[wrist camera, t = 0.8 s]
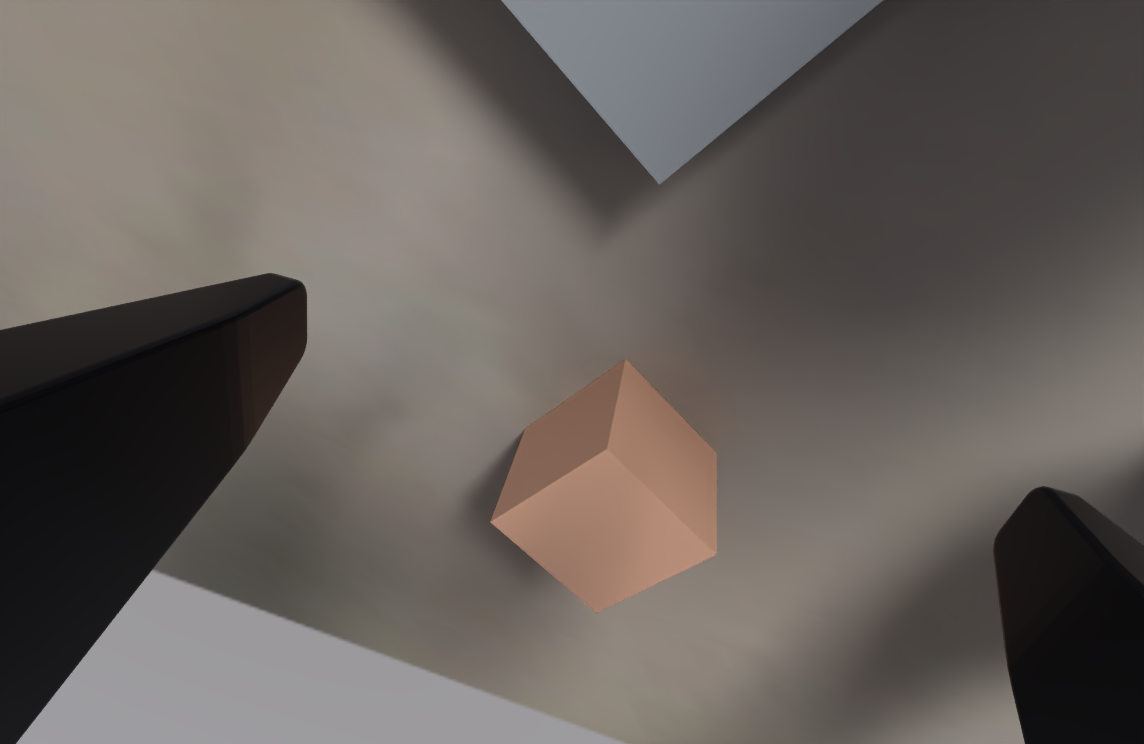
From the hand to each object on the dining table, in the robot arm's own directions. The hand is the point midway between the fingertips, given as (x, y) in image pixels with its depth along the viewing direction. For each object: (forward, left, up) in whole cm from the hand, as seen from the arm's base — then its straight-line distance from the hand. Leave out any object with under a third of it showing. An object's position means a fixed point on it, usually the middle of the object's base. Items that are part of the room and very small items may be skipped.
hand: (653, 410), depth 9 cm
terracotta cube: (-7, +9, -14) cm, 18 cm away
